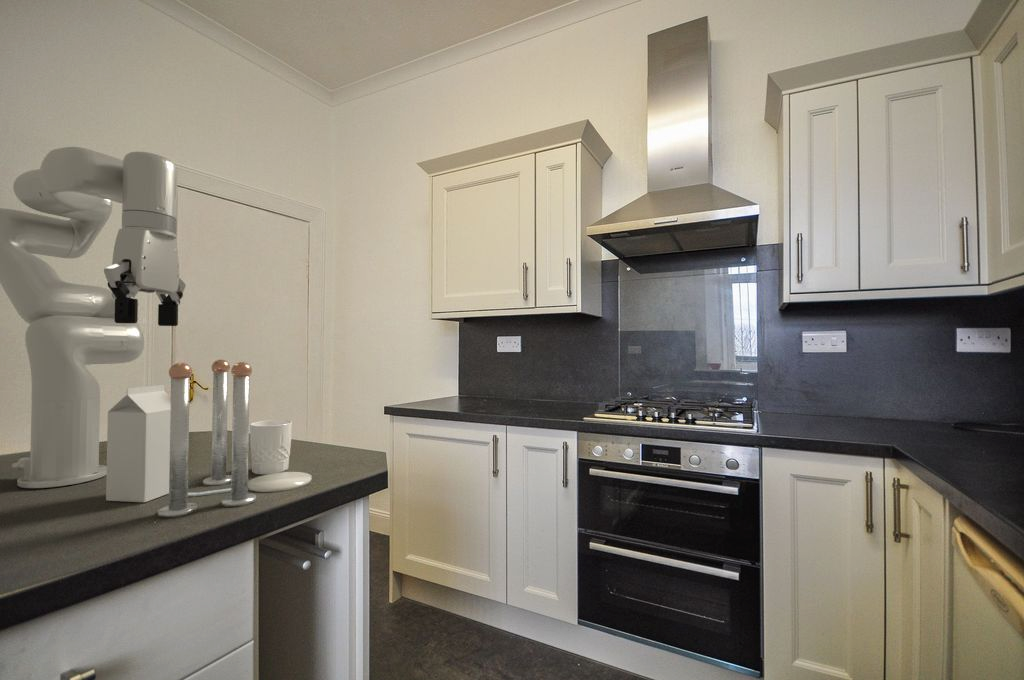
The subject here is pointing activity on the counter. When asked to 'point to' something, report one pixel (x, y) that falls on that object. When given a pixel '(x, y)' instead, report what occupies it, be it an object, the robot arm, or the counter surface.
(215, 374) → the post
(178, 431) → the post
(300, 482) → the coaster
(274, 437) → the white cup
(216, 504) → the counter surface
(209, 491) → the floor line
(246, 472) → the post
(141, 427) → the milk carton
